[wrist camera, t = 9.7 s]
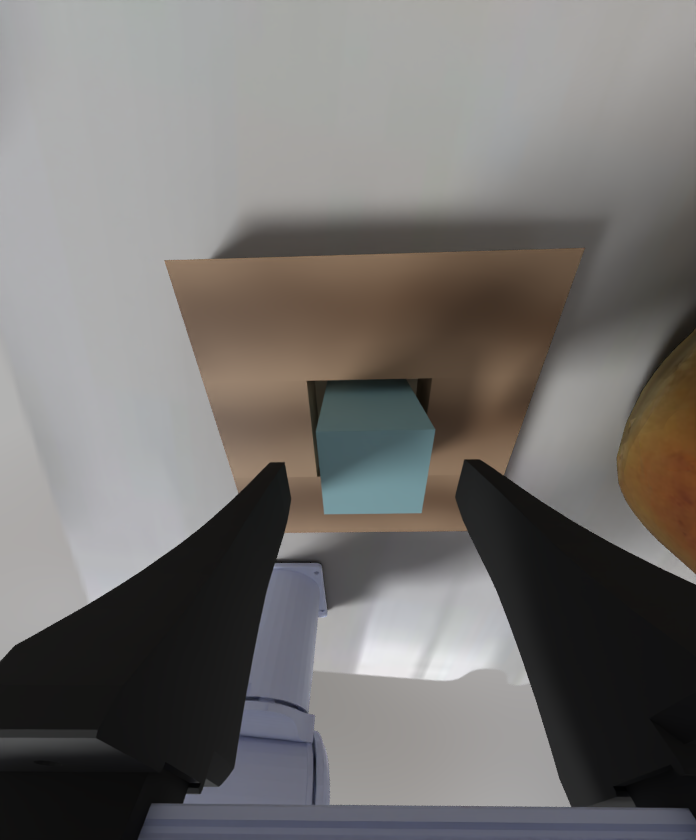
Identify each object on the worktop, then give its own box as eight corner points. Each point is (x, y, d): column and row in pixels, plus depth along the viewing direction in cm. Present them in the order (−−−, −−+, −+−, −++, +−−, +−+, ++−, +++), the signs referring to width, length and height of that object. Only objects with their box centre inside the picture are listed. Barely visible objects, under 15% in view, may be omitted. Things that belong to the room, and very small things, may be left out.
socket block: (466, 497, 20) (483, 530, 17) (264, 500, 20) (251, 532, 17) (533, 255, 12) (584, 247, 9) (204, 265, 12) (164, 260, 10)
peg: (398, 439, 17) (421, 513, 11) (332, 441, 17) (324, 514, 11) (404, 376, 14) (435, 429, 9) (328, 377, 15) (315, 431, 9)
